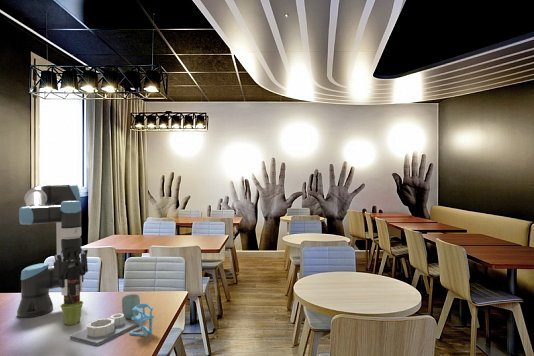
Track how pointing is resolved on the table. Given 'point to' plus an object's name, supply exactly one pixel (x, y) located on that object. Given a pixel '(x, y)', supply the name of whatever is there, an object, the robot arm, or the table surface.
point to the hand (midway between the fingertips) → (72, 292)
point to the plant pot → (72, 312)
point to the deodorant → (73, 285)
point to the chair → (142, 320)
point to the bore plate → (103, 338)
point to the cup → (130, 305)
